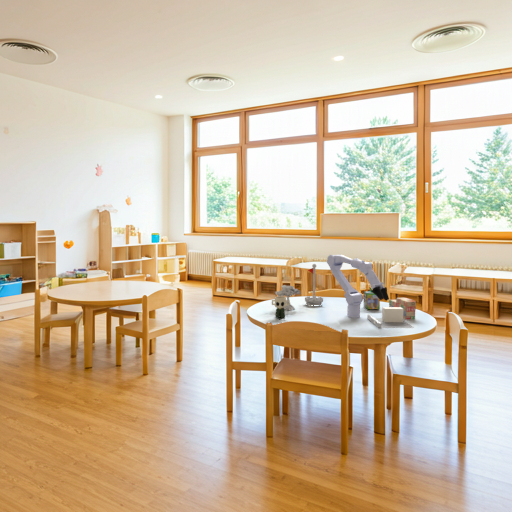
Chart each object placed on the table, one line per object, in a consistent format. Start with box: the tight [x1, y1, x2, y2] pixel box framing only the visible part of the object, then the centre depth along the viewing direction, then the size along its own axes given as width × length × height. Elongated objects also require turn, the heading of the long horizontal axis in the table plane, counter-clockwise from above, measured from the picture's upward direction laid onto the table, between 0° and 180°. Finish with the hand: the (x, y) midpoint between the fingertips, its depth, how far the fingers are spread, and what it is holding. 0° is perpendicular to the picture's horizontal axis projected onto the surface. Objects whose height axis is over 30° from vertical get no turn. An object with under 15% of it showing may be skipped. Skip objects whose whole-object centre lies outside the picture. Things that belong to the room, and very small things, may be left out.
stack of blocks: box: [388, 297, 417, 320], centre depth 258 cm, size 21×6×12 cm, turn 10°
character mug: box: [271, 295, 290, 319], centre depth 256 cm, size 11×7×13 cm, turn 83°
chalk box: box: [363, 286, 381, 310], centre depth 283 cm, size 9×9×15 cm
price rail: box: [366, 313, 382, 329], centre depth 239 cm, size 22×2×2 cm, turn 0°
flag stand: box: [304, 263, 324, 307], centre depth 295 cm, size 13×13×30 cm
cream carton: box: [381, 306, 404, 322], centre depth 243 cm, size 5×11×8 cm, turn 90°
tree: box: [274, 284, 302, 311], centre depth 281 cm, size 18×16×17 cm
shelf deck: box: [373, 317, 414, 329], centre depth 239 cm, size 22×20×1 cm
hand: (384, 299), depth 235 cm, fingers open, 7 cm apart
